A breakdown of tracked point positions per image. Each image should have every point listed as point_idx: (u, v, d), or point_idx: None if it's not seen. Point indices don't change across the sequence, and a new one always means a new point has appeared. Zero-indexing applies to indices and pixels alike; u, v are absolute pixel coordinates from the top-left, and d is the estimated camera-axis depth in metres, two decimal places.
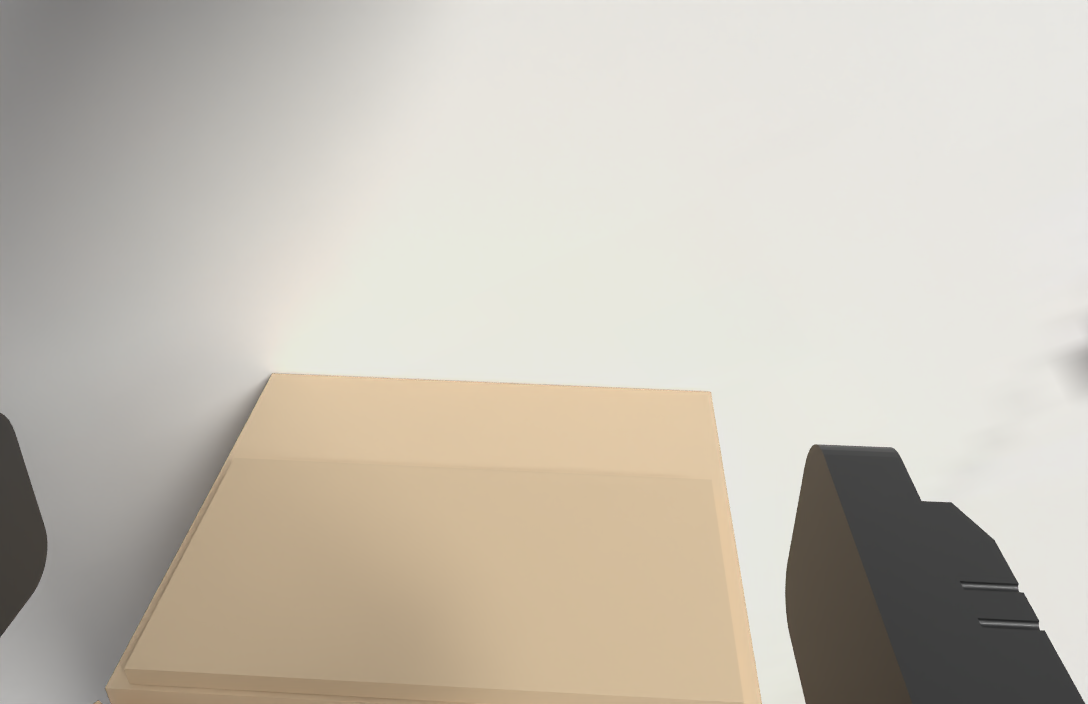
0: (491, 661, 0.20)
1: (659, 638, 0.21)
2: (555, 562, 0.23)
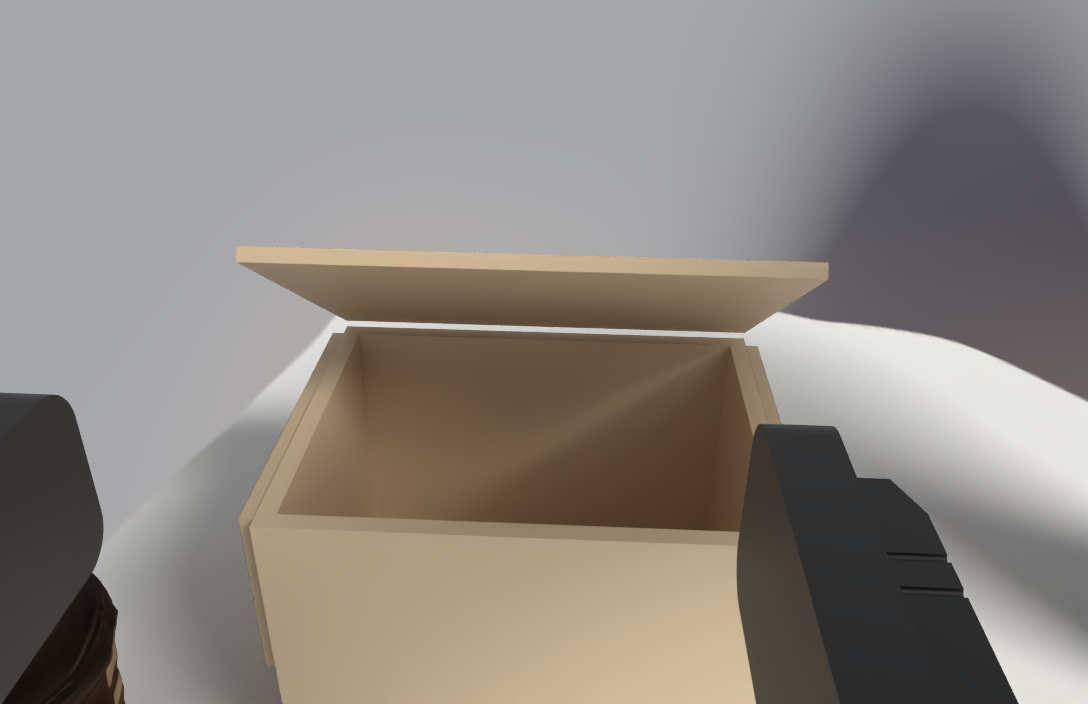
0: None
1: None
2: None
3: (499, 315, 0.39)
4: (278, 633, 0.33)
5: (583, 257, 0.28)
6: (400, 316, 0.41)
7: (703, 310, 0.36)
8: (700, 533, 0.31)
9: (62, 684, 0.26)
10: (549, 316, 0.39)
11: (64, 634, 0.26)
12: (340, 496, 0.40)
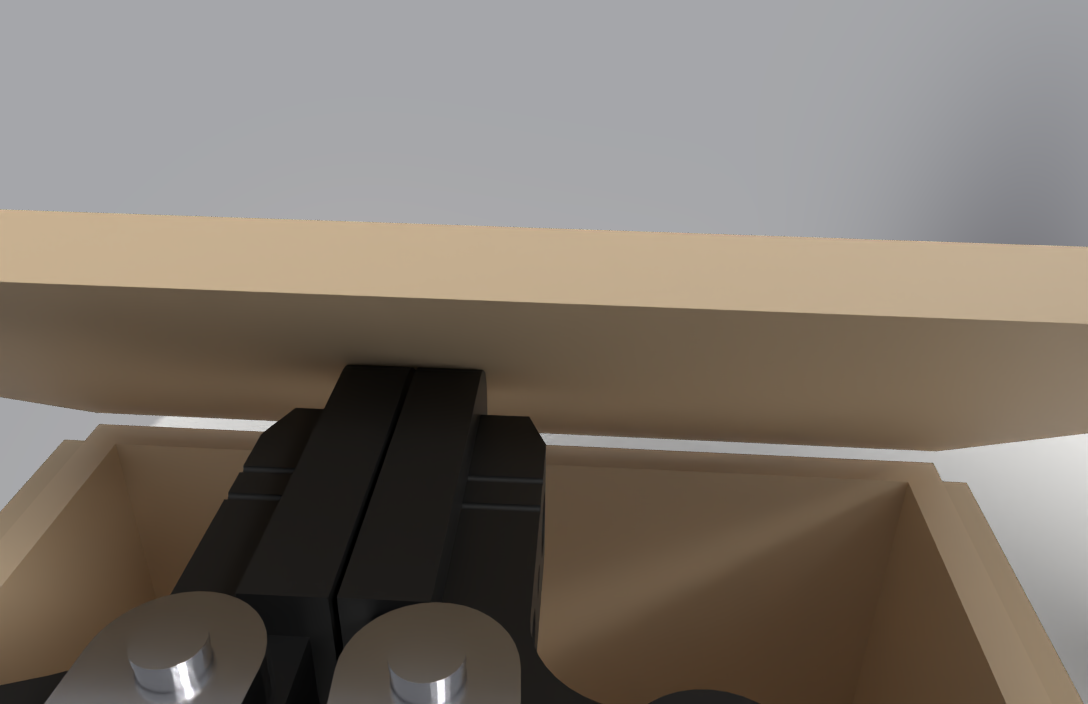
0: None
1: None
2: None
3: None
4: None
5: (576, 237, 0.06)
6: (184, 410, 0.18)
7: (910, 421, 0.13)
8: None
9: None
10: None
11: None
12: None
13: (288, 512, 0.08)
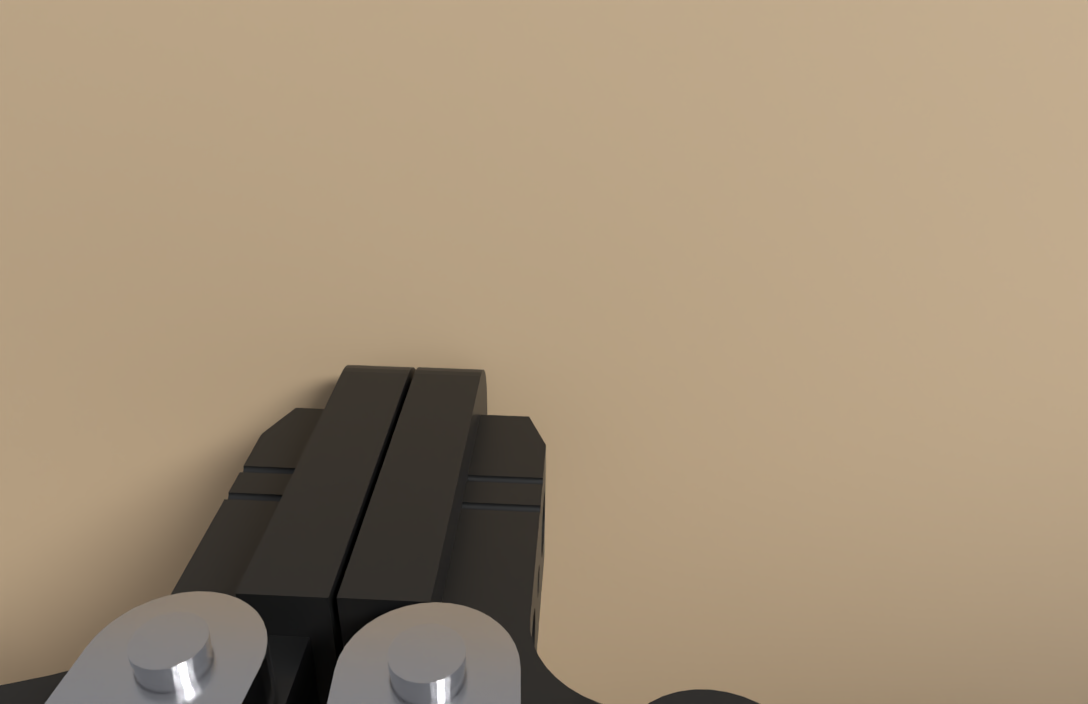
0: None
1: None
2: None
3: None
4: None
5: None
6: None
7: (1011, 515, 0.10)
8: None
9: None
10: None
11: None
12: None
13: (288, 511, 0.08)
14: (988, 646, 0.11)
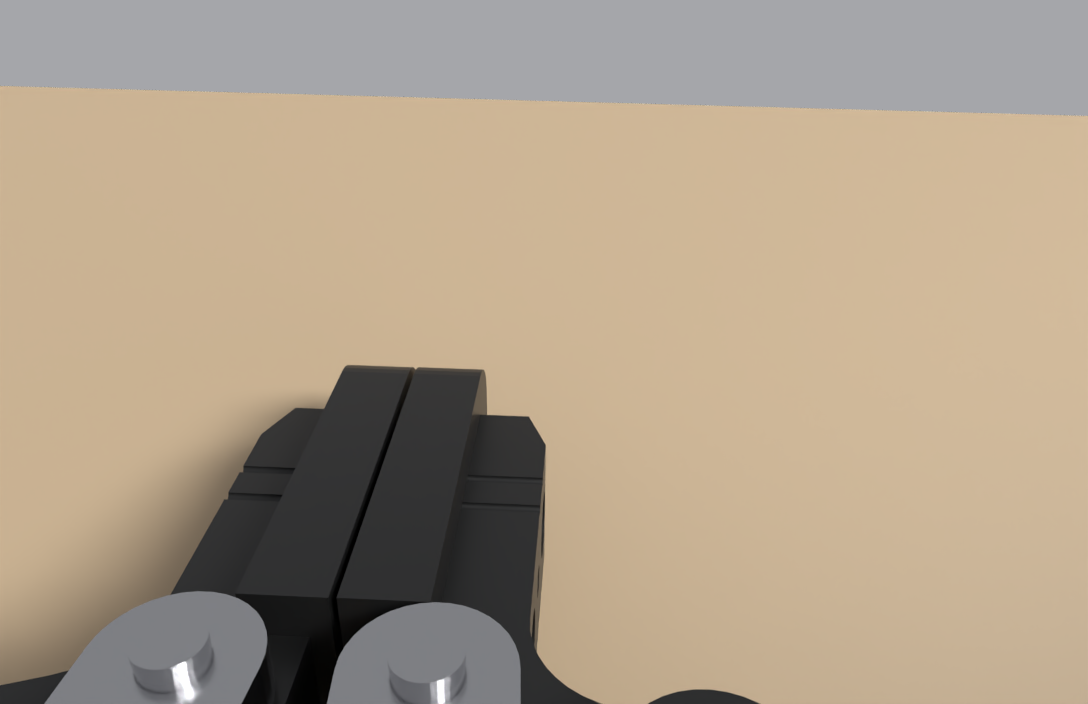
0: None
1: None
2: None
3: None
4: None
5: None
6: None
7: (1036, 681, 0.10)
8: None
9: None
10: None
11: None
12: None
13: (288, 511, 0.08)
14: None
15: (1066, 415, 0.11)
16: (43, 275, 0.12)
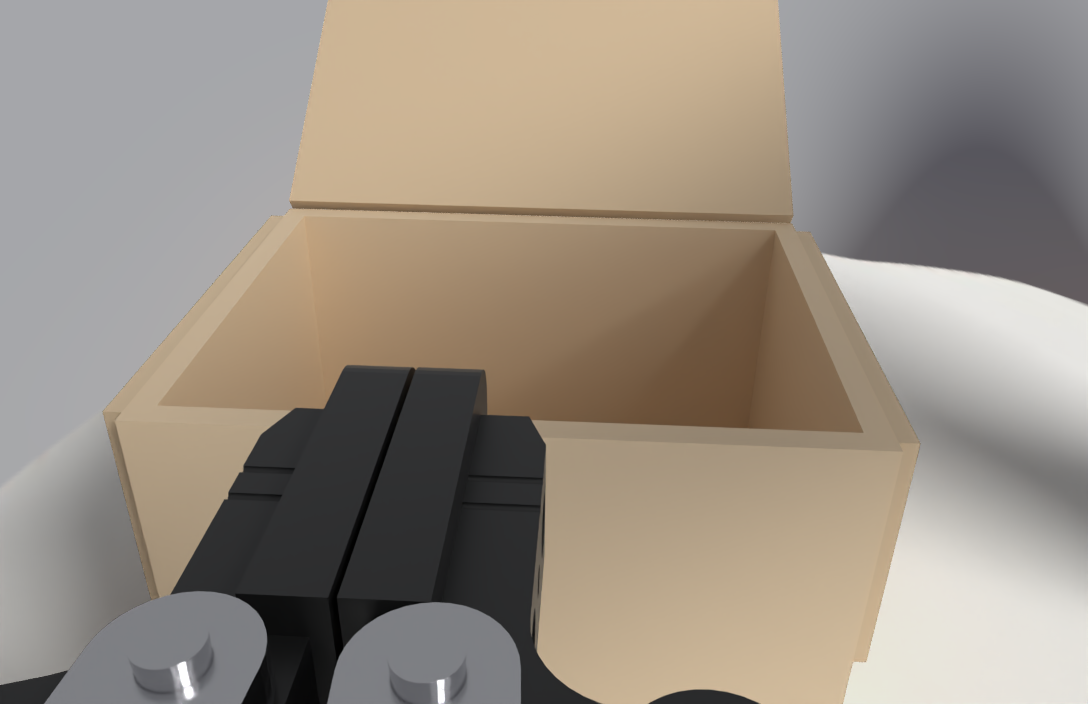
0: None
1: None
2: None
3: (496, 130, 0.35)
4: (167, 577, 0.24)
5: None
6: (374, 157, 0.35)
7: (711, 68, 0.36)
8: (754, 431, 0.22)
9: None
10: (552, 127, 0.35)
11: None
12: None
13: (288, 512, 0.08)
14: (714, 105, 0.35)
15: (729, 9, 0.37)
16: None
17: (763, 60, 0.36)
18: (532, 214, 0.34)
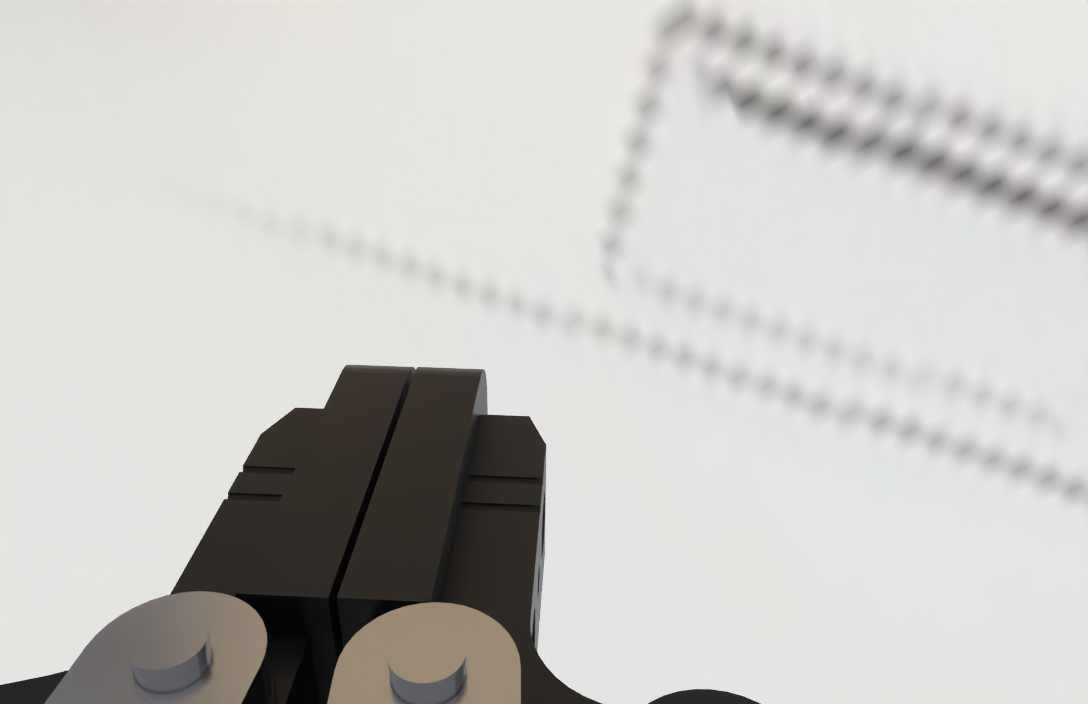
0: None
1: None
2: None
3: None
4: None
5: None
6: None
7: None
8: None
9: None
10: None
11: None
12: None
13: (289, 512, 0.08)
14: None
15: None
16: None
17: None
18: None
